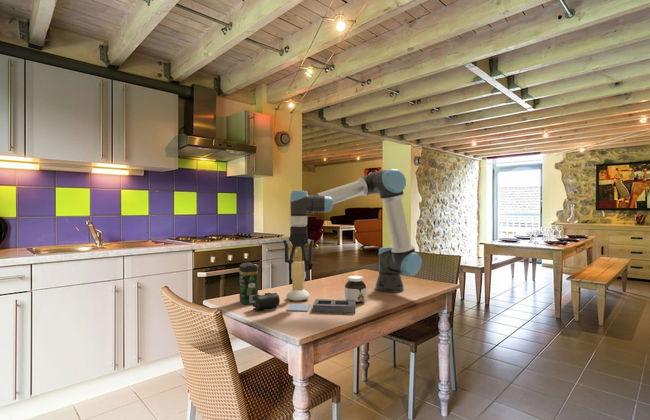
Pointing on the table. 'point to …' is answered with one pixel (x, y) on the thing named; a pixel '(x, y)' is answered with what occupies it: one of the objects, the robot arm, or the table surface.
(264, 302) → the end cap
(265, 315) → the table surface
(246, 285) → the coffee jar
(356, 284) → the spread jar
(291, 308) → the slate pad
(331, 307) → the steel socket block
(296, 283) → the brass peg
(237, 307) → the table surface
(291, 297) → the flower in vase
